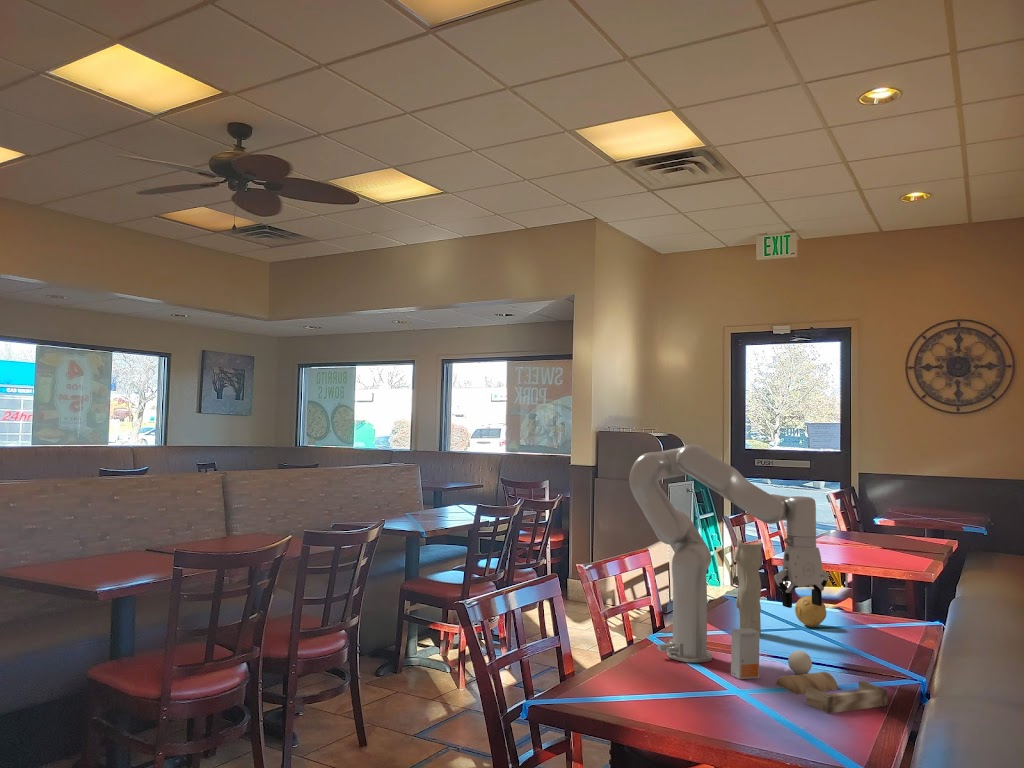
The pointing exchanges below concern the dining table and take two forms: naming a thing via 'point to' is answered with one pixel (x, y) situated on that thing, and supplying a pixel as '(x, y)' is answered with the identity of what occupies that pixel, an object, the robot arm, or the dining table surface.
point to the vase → (749, 584)
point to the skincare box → (745, 653)
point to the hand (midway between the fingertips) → (802, 605)
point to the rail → (847, 698)
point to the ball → (800, 662)
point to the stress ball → (809, 612)
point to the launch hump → (807, 682)
